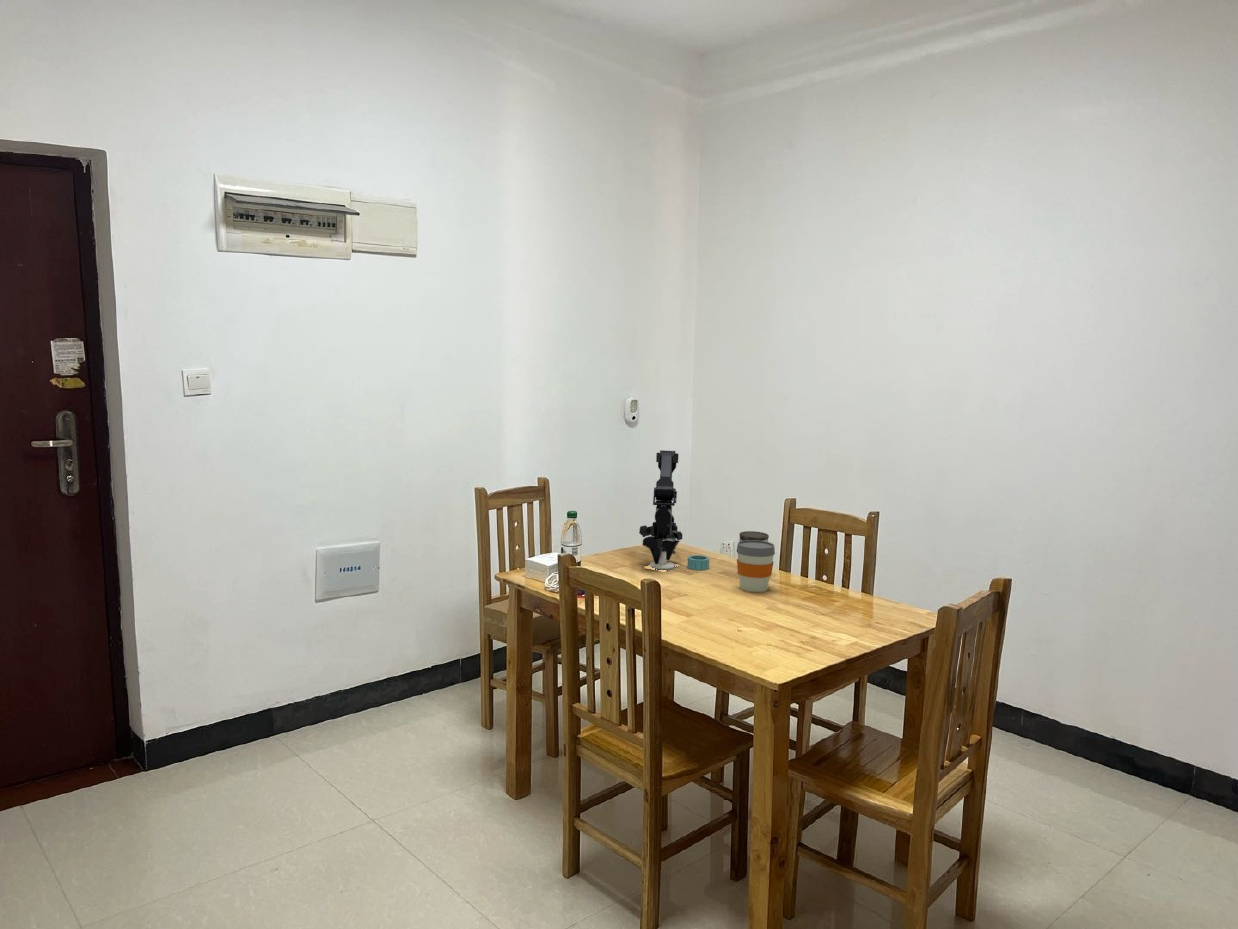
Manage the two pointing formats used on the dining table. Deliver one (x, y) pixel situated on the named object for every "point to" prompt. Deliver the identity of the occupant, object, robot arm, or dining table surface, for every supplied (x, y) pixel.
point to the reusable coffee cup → (755, 564)
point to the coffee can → (753, 536)
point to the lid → (662, 563)
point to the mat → (668, 569)
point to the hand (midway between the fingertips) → (662, 562)
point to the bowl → (698, 562)
